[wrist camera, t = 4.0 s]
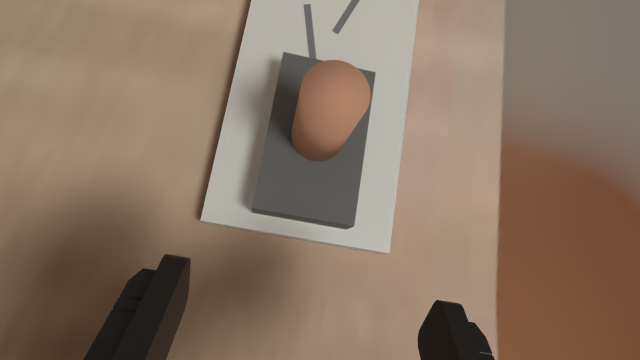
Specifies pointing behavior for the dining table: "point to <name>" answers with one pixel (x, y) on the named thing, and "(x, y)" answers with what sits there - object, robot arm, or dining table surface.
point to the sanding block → (315, 142)
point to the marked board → (258, 94)
